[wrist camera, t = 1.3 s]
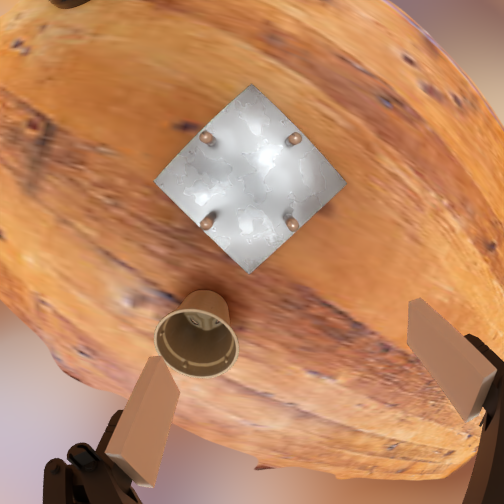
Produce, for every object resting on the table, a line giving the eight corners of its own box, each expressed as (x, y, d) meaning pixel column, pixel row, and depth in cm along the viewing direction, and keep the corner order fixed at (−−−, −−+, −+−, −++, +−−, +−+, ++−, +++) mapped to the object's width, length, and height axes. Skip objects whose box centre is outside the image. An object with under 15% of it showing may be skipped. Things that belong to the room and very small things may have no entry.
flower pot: (251, 290, 36) (251, 325, 28) (229, 346, 39) (224, 387, 31) (181, 267, 35) (162, 296, 27) (166, 326, 38) (148, 363, 30)
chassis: (156, 180, 32) (140, 183, 27) (251, 86, 29) (251, 72, 24) (249, 271, 35) (248, 288, 31) (344, 183, 32) (359, 186, 27)
